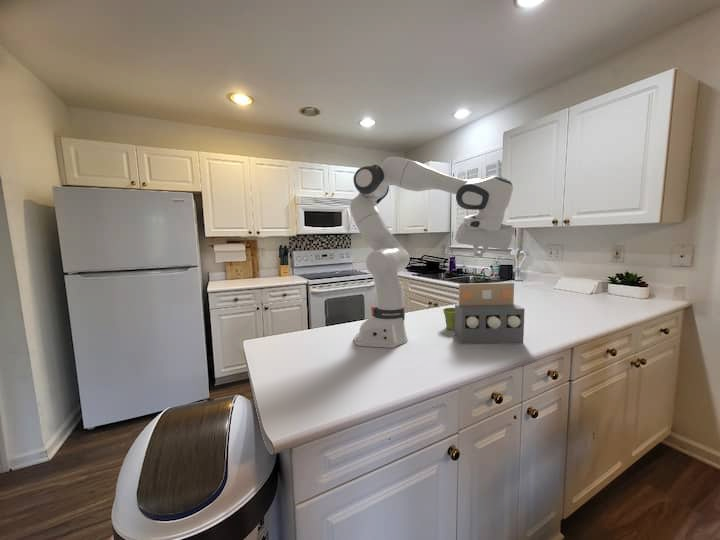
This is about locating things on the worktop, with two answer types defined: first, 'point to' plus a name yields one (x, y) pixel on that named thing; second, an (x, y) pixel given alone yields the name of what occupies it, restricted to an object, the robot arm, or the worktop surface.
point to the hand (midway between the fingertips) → (477, 256)
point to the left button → (471, 321)
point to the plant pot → (450, 318)
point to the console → (488, 314)
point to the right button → (513, 321)
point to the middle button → (493, 322)
